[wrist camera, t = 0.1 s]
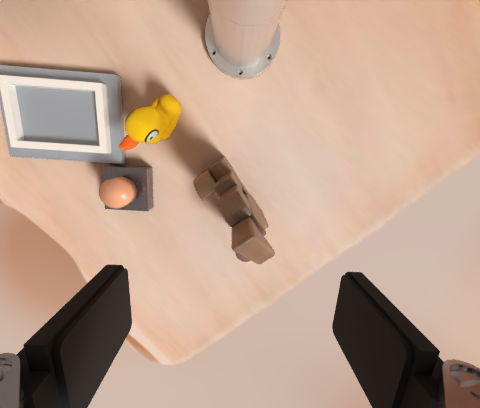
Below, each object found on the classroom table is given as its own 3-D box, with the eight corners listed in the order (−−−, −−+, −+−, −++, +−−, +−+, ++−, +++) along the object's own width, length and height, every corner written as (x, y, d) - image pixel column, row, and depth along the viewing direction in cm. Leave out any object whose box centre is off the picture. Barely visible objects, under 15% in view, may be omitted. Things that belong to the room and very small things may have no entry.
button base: (110, 164, 44) (101, 166, 41) (152, 167, 44) (146, 169, 41) (113, 204, 46) (105, 208, 43) (153, 206, 46) (148, 211, 43)
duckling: (152, 158, 44) (130, 162, 34) (130, 137, 43) (100, 135, 33) (192, 113, 42) (180, 105, 32) (170, 91, 41) (150, 75, 31)
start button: (107, 175, 40) (97, 178, 38) (136, 177, 41) (128, 180, 38) (109, 203, 42) (100, 207, 39) (137, 204, 42) (130, 209, 39)
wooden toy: (196, 175, 45) (154, 212, 21) (224, 155, 44) (213, 170, 20) (240, 234, 49) (247, 325, 24) (266, 217, 48) (301, 294, 24)
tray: (1, 67, 39) (-17, 61, 36) (120, 77, 40) (111, 71, 37) (17, 156, 43) (2, 156, 40) (125, 163, 44) (118, 164, 41)
